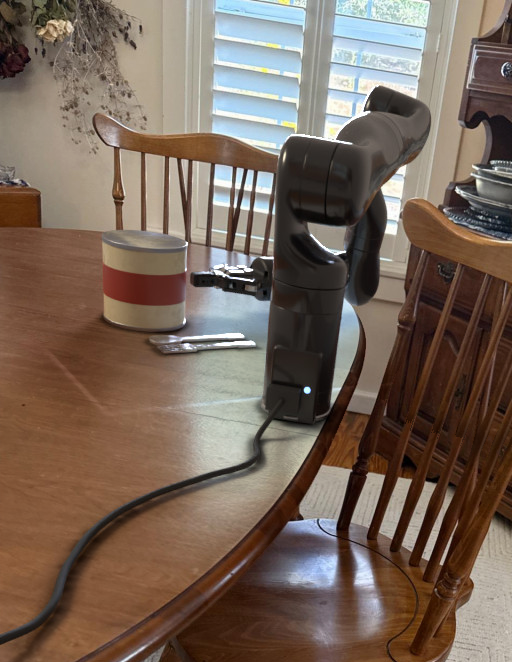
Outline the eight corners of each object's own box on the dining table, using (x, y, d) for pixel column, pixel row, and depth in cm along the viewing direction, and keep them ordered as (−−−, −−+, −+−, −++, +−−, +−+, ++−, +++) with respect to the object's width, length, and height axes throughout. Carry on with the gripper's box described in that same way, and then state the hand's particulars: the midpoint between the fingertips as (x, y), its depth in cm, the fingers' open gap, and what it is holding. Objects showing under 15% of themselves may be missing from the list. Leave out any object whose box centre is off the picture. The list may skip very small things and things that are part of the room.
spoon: (236, 334, 130) (236, 331, 130) (247, 341, 127) (248, 338, 127) (145, 338, 121) (145, 335, 121) (155, 346, 118) (155, 343, 118)
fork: (249, 342, 127) (250, 339, 127) (257, 348, 125) (258, 345, 125) (156, 348, 118) (156, 345, 117) (163, 354, 116) (163, 350, 116)
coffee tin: (172, 336, 124) (174, 253, 117) (91, 323, 123) (88, 238, 117) (194, 316, 135) (196, 239, 129) (119, 304, 135) (118, 226, 128)
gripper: (264, 249, 143) (176, 247, 133) (301, 267, 134) (210, 266, 124) (261, 290, 147) (175, 291, 137) (297, 310, 138) (208, 313, 128)
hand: (192, 279), depth 131 cm, fingers closed
